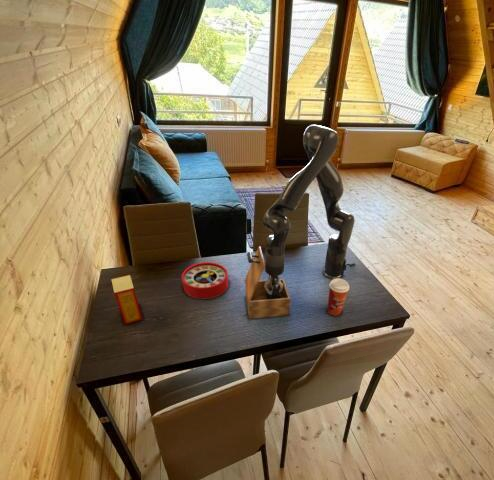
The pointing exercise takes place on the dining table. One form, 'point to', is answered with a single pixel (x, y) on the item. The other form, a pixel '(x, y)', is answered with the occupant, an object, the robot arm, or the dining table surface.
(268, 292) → the watch
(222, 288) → the toy clock
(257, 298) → the chest
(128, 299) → the baking soda box
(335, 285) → the coffee cup
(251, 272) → the lid
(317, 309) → the dining table surface
